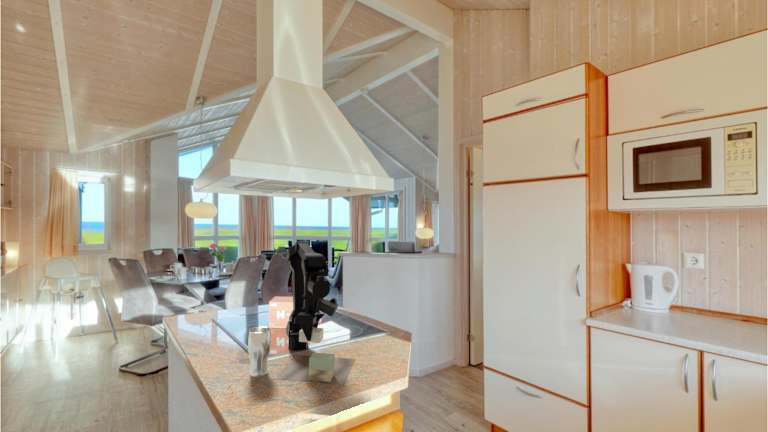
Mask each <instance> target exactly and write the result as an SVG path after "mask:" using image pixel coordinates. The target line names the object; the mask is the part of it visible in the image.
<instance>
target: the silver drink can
mask: <svg viewBox="0 0 768 432" xmlns="http://www.w3.org/2000/svg"><path fill="white" fill-rule="evenodd" d="M271 336H272V335H271V328H270V327H269V326H256V327H255V326H254V327H251V328H249V329H248V339H247V341H248V342H247V351H248V357H249V369H248V370H249V371H248V375H249V377H252V378H253V377H254V378H256V377H257V378H258V377H263V376H265V375H267V374H268V372H269V371H268V360H269V354H270V350H271V345H272V344H271V341H272V337H271Z"/></svg>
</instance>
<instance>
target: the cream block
mask: <svg viewBox="0 0 768 432" xmlns="http://www.w3.org/2000/svg"><path fill="white" fill-rule="evenodd" d="M324 329H325V328H323V327H321V328H320V327H317V328H313V332H312V337H311V341H307V339H306V336H305V334H304V332H303V330H302V329H301V330H300V331H299V342H308V343H314V344H320V343H321V342H322V341H323V339H324Z"/></svg>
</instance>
